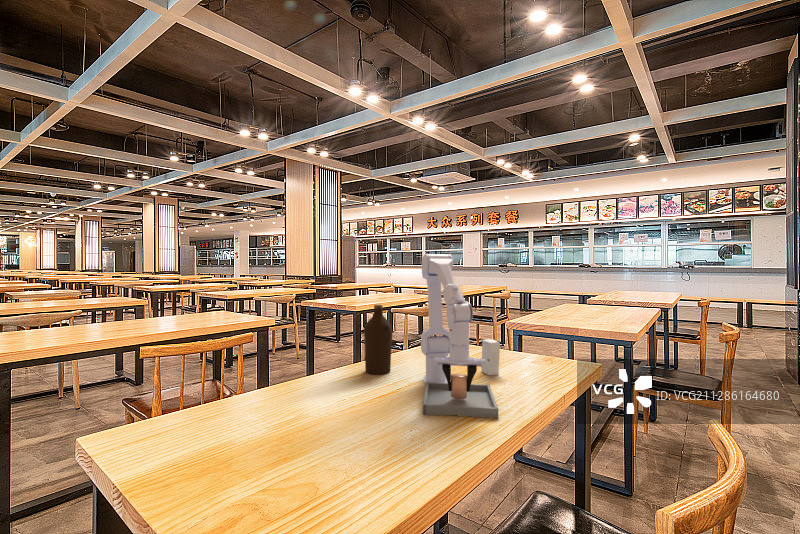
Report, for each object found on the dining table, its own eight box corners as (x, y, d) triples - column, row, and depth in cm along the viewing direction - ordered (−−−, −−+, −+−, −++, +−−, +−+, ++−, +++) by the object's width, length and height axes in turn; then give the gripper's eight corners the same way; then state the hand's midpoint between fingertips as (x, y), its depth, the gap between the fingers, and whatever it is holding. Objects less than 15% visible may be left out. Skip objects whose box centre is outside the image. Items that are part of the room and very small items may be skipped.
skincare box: (480, 371, 146) (481, 339, 146) (491, 370, 148) (491, 338, 147) (489, 375, 140) (489, 342, 140) (500, 374, 142) (500, 341, 141)
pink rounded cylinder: (450, 393, 116) (450, 373, 116) (466, 393, 116) (466, 373, 116) (450, 398, 111) (451, 378, 111) (467, 399, 111) (467, 378, 111)
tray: (426, 390, 125) (426, 382, 125) (489, 392, 122) (489, 384, 122) (423, 414, 105) (423, 405, 105) (498, 418, 103) (498, 408, 102)
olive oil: (396, 369, 149) (396, 304, 148) (385, 376, 139) (386, 307, 138) (370, 366, 152) (371, 303, 152) (359, 373, 142) (359, 306, 142)
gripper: (434, 346, 110) (433, 393, 110) (485, 347, 109) (485, 395, 109) (434, 341, 117) (434, 385, 117) (483, 342, 116) (482, 387, 116)
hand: (458, 390), depth 114 cm, fingers closed on pink rounded cylinder, 5 cm apart
